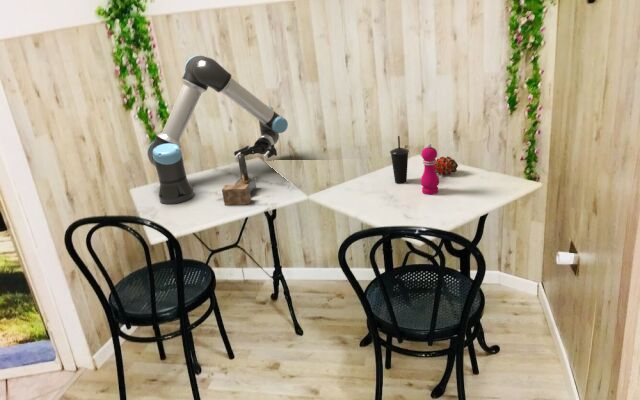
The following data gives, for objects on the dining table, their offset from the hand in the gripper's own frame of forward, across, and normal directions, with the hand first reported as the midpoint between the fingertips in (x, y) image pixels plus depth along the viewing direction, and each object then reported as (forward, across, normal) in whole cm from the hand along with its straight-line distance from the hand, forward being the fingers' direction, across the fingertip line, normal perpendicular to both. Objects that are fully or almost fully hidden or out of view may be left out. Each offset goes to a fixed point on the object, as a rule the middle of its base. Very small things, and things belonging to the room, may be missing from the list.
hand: (250, 159), depth 231 cm
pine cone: (-7, -84, -13) cm, 85 cm away
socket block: (+19, +1, -12) cm, 23 cm away
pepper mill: (+12, -78, -13) cm, 80 cm away
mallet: (+12, +1, -11) cm, 17 cm away
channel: (+8, +1, -12) cm, 15 cm away
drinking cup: (+1, -66, -13) cm, 67 cm away
